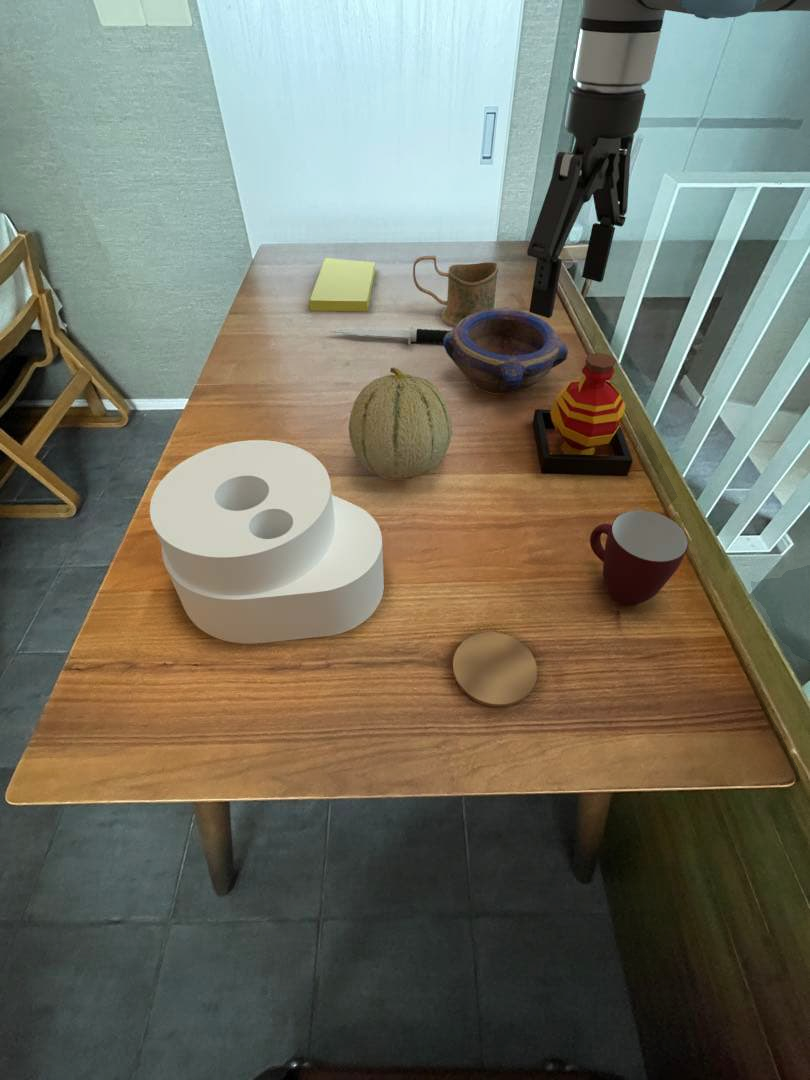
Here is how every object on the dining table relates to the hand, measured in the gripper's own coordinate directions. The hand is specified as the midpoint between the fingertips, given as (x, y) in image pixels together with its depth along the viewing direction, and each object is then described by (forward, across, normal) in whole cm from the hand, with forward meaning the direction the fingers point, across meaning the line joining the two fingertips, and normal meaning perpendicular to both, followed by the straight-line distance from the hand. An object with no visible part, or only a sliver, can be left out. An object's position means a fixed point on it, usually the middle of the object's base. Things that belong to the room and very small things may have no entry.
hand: (567, 296), depth 74 cm
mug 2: (+24, +19, +22) cm, 37 cm away
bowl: (+24, -12, -15) cm, 31 cm away
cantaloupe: (+24, +18, -13) cm, 32 cm away
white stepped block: (+24, +44, -10) cm, 51 cm away
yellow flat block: (+24, -25, -65) cm, 73 cm away
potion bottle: (+24, -3, +5) cm, 24 cm away
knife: (+24, -13, -40) cm, 48 cm away
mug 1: (+24, -29, -37) cm, 52 cm away
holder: (+24, -3, +5) cm, 24 cm away
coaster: (+24, +38, +17) cm, 48 cm away
